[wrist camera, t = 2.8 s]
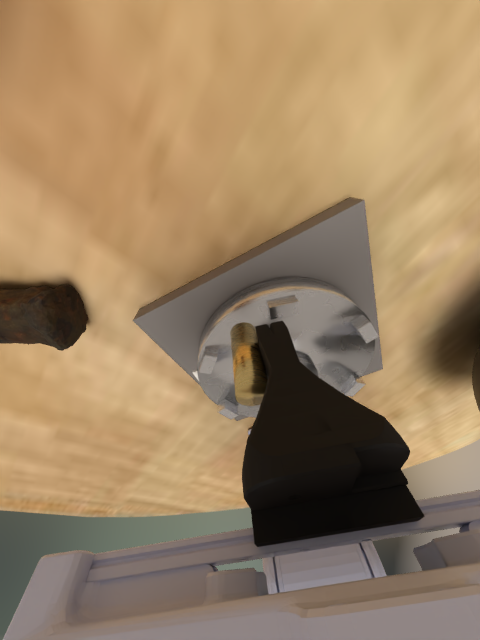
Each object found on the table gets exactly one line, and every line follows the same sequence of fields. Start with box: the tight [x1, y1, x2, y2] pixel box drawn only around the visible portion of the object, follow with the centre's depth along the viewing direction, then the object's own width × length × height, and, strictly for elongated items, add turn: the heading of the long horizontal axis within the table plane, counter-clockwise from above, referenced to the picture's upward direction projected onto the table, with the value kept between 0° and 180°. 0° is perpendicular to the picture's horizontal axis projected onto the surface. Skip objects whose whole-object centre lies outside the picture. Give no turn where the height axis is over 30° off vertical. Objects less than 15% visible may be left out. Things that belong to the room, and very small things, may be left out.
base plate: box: [133, 198, 383, 421], centre depth 18 cm, size 16×16×2 cm
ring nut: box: [197, 277, 379, 419], centre depth 14 cm, size 13×13×6 cm
